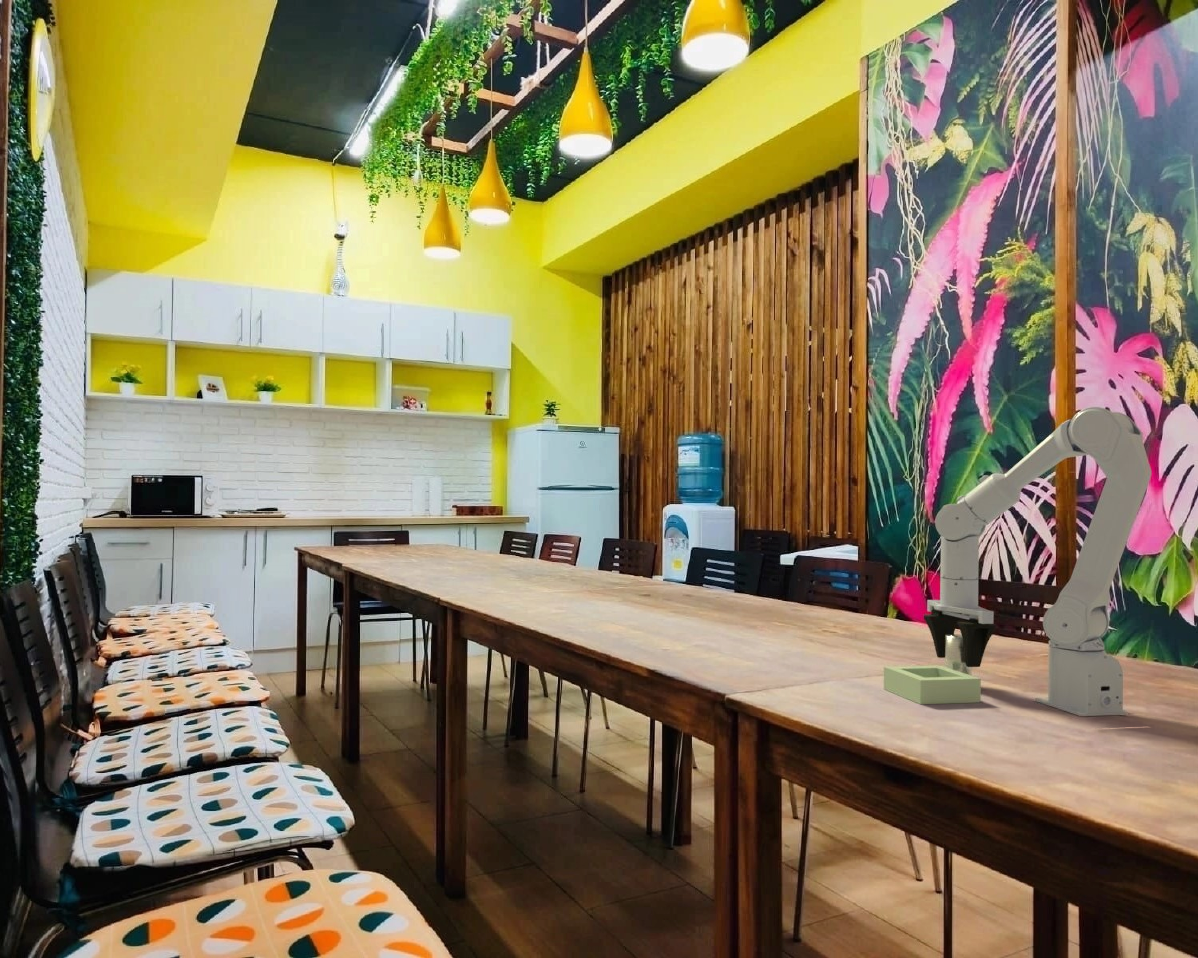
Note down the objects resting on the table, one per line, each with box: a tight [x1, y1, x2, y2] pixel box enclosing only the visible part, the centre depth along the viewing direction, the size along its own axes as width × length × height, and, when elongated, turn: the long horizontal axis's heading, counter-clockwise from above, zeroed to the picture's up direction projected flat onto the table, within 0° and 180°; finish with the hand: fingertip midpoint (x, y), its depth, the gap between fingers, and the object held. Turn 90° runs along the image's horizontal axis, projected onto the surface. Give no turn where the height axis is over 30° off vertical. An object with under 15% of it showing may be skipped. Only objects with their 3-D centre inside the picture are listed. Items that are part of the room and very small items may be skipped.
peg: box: [944, 633, 973, 676], centre depth 138 cm, size 4×4×8 cm
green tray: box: [883, 665, 982, 705], centre depth 130 cm, size 10×10×4 cm
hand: (958, 661), depth 138 cm, fingers open, 7 cm apart
